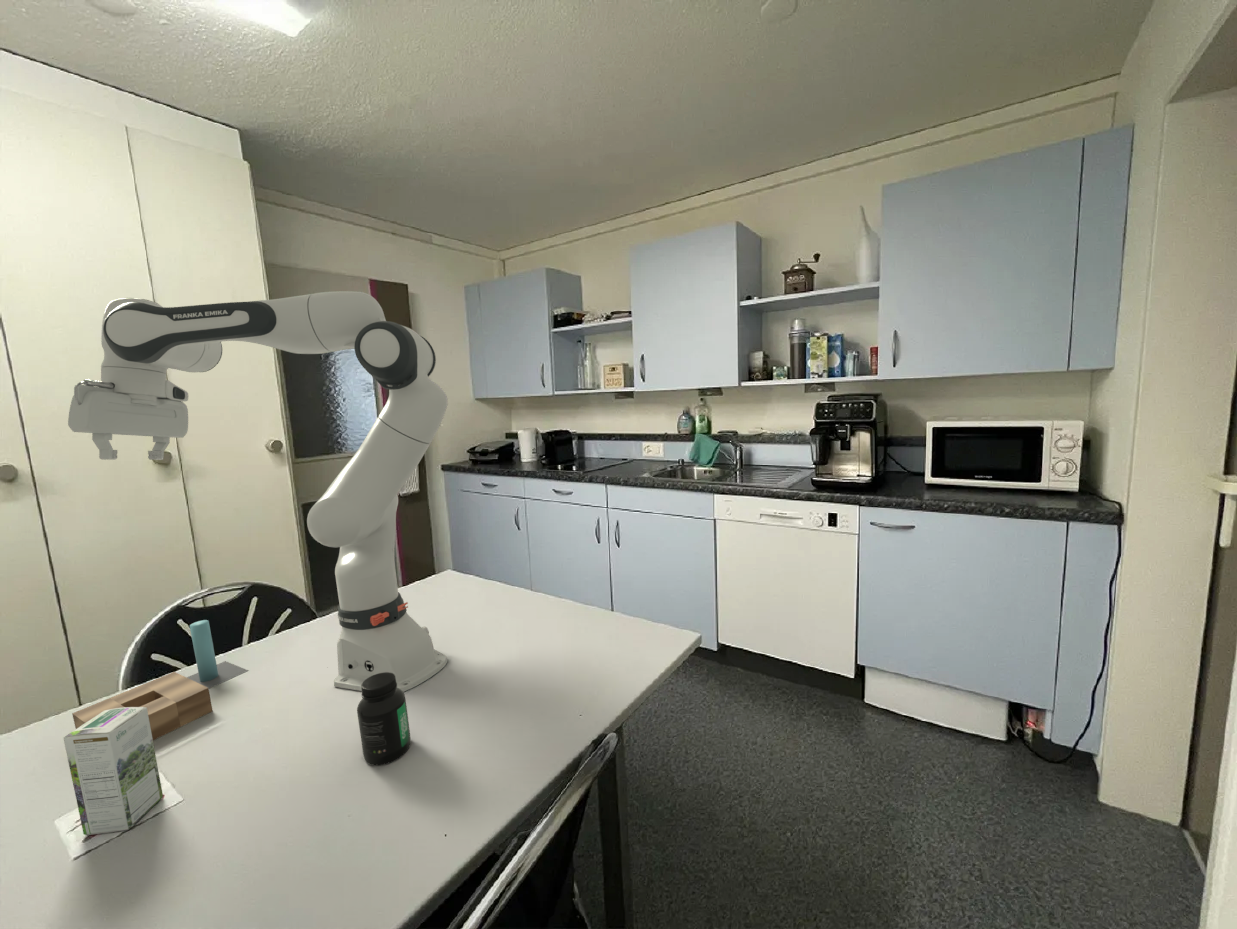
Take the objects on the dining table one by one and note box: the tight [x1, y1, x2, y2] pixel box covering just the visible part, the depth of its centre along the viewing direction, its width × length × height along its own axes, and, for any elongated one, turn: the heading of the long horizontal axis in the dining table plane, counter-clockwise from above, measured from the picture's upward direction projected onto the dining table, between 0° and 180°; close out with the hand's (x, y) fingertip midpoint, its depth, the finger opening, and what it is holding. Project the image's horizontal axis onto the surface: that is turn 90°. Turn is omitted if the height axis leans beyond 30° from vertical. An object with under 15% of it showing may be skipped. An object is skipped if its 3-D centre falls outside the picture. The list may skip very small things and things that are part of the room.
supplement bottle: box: [356, 672, 412, 766], centre depth 77 cm, size 7×7×12 cm
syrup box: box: [63, 707, 164, 836], centre depth 67 cm, size 6×6×14 cm
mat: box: [186, 660, 250, 689], centre depth 103 cm, size 10×10×1 cm
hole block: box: [72, 671, 214, 741], centre depth 88 cm, size 14×14×5 cm
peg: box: [189, 619, 218, 682], centre depth 102 cm, size 3×3×12 cm
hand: (133, 459), depth 93 cm, fingers open, 8 cm apart
